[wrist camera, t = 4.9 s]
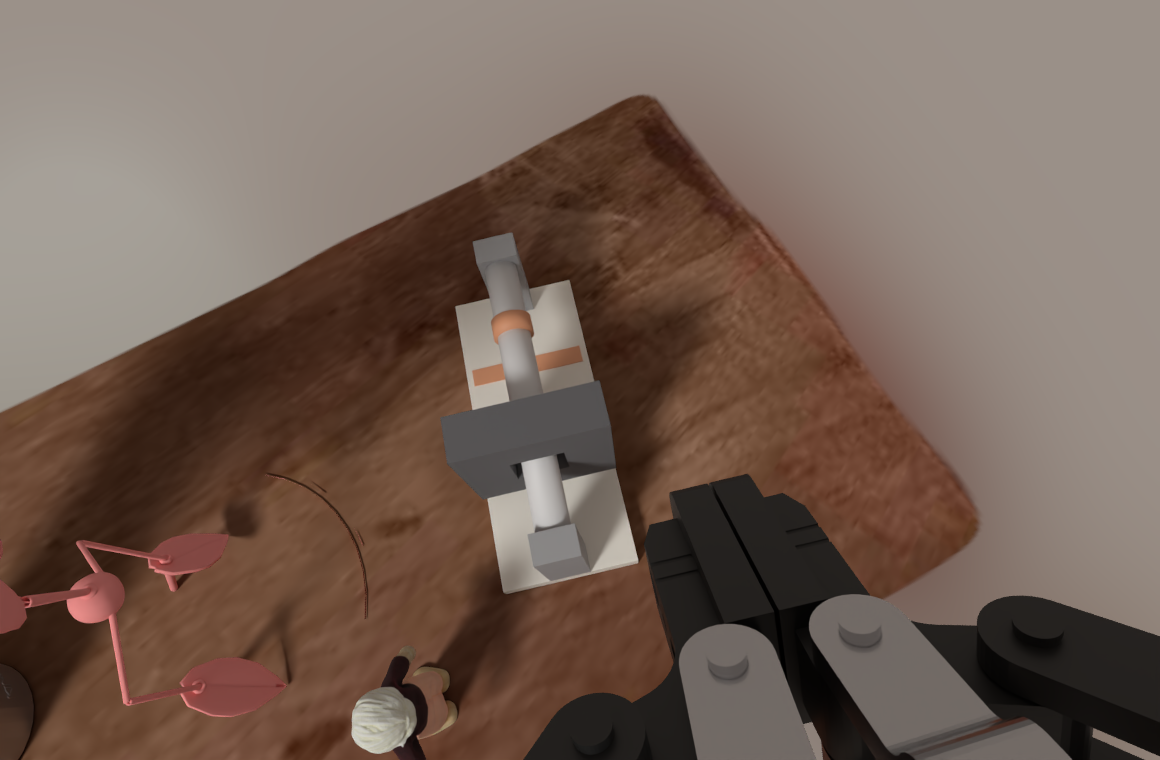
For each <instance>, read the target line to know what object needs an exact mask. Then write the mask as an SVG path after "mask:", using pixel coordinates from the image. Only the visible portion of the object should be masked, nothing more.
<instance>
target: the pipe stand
mask: <svg viewBox="0 0 1160 760" xmlns="http://www.w3.org/2000/svg"><path fill="white" fill-rule="evenodd" d="M473 246H474V251H475V257H476V262H477V266H478V268H479V270H480V273H481V275H482V278H483V280H484V282H485V285H486V287H487V290H488V292H489V297H490V298H489V299H485V300H481V301H476V302H472V303H468V304H464V305H459V306H455V308H456V314H457V320H458V326H459V332H460V338H461V343H462V349H463V355H464V361H465V367H466V373H467V379H468V385H469V391H470V397H471V403H472V409H473V410H475V409H479V408H483V407H487V406H492V405H496V404H500V403H505V402H509V401H513V400H517V399H522V398H526V397H530V396H534V395H539V394H543V393H547V392H551V391H556V390H560V389H564V388H568V387H573V386H577V385H581V384H585V383H590V382H594V378H593V374H592V370H591V366H590V362H589V358H588V354H587V350H586V346H585V342H584V338H583V334H582V329H581V325H580V321H579V317H578V313H577V309H576V305H575V301H574V297H573V293H572V289H571V285H570V281H569V280H566V281H562V282H558V283H553V284H549V285H545V286H541V287H536V288H532V289H529V286H528V283H527V280H526V276H525V273H524V270H523V266H522V263H521V260H520V257H519V253H518V250H517V247H516V243H515V240H514V237H513V233H507V234H503V235H499V236H494V237H490V238H486V239H482V240H477V241H473ZM521 464H522V469H523V475H524V480H525V485H526V489H525V490H521V491H517V492H512V493H508V494H504V495H500V496H495V497H491V498H488V504H489V510H490V516H491V522H492V528H493V534H494V540H495V546H496V552H497V558H498V564H499V570H500V576H501V582H502V588H503V592H504V593H506V594H510V593H514V592H518V591H522V590H527V589H531V588H535V587H539V586H543V585H548V584H552V583H556V582H560V581H565V580H569V579H573V578H577V577H582V576H586V575H590V574H594V573H598V572H603V571H607V570H611V569H615V568H620V567H624V566H628V565H632V564H637V563H638V557H637V553H636V549H635V545H634V541H633V537H632V533H631V529H630V525H629V521H628V517H627V513H626V509H625V504H624V500H623V496H622V492H621V488H620V484H619V480H618V476H617V472H616V468H614V469H610V470H606V471H602V472H597V473H593V474H589V475H585V476H580V477H576V478H572V479H568V480H563V481H562V478H561V474H560V469H559V464H558V460H557V455H551V456H547V457H543V458H539V459H534V460H530V461H526V462H522V463H521Z"/></svg>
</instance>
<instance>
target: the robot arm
mask: <svg viewBox="0 0 1160 760" xmlns="http://www.w3.org/2000/svg"><path fill="white" fill-rule="evenodd" d="M670 502H671V508H672V513H673V518H674V519H672V520H668V521H664V522H659V523H655V524H651V525H650V526H649V529H648V533H647V536H646V539H645V542H644V547H645V551H646V556H647V561H648V565H649V570H650V575H651V579H652V584H653V589H654V593H655V598H656V603H657V607H658V611H659V614H660V618H661V621H662V624H663V628H664V631H665V635H666V638H667V642H668V645H669V648H670V652H671V655H672V659H673V662H674V664H673V666H672V669H671V671H670V673H669V674H668V676H667V677H666V679H665V680H664V681H663V682H662V683H661V684H660V685H659V686H658V687H657V688H656V689H654V690H653V691H651V692H650V693H648V694H647V695H645V696H643V697H642V698H640V699H638V700H636V701H635V702H633V703H631V702H630V701H628V700H627V699H625V698H623V697H621V696H618V695H615V694H610V693H593V694H588V695H585V696H582V697H579V698H577V699H575V700H573V701H571V702H569V703H568V704H566V705H565V706H564V707H562V708H561V709H560V710H559V711H558V712H557V713H556V714H555V716H554V717H553V718H552V719H551V721H550V722H549V724H548V725H547V727H546V728H545V729H544V731H543V732H542V734H541V735H540V737H539V738H538V740H537V741H536V742H535V744H534V745H533V747H532V748H531V750H530V751H529V752H528V754H527V755H526V757H525V758H524V760H816V757H815V755H814V752H813V749H812V747H811V744H810V741H809V739H808V736H807V733H806V731H805V728H804V725H803V724H805V723H809V722H812V723H813V725H814V727H815V729H816V731H817V733H818V735H819V737H820V739H821V745H822V755H823V760H1144V759H1141V758H1139V757H1137V756H1135V755H1132V754H1130V753H1128V752H1125V751H1123V750H1121V749H1119V748H1116V747H1114V746H1112V745H1109V744H1107V743H1105V742H1102V741H1100V740H1098V739H1095V738H1093V737H1092V735H1093V728H1095V729H1097V730H1100V731H1102V732H1104V733H1107V734H1109V735H1111V736H1114V737H1116V738H1118V739H1121V740H1123V741H1126V742H1128V743H1130V744H1132V745H1135V746H1137V747H1140V748H1142V749H1144V750H1146V751H1149V752H1151V753H1154V754H1156V755H1158V756H1160V636H1157V635H1154V634H1151V633H1148V632H1145V631H1142V630H1139V629H1136V628H1133V627H1130V626H1127V625H1124V624H1121V623H1118V622H1115V621H1112V620H1109V619H1106V618H1103V617H1099V616H1096V615H1094V614H1091V613H1088V612H1084V611H1081V610H1078V609H1075V608H1072V607H1069V606H1066V605H1063V604H1060V603H1057V602H1054V601H1051V600H1047V599H1043V598H1038V597H1032V596H1009V597H1003V598H1000V599H996V600H994V601H992V602H990V603H988V604H987V605H986V606H984V608H983V609H982V610H981V611H980V613H979V615H978V619H977V626H963V625H962V626H961V625H932V624H923V623H917V622H913V621H910V620H909V619H908V618H907V616H906V615H905V614H904V613H903V612H902V611H900V610H899V609H898V608H897V607H895V606H894V605H892V604H890V603H889V602H887V601H884V600H882V599H879V598H876V597H872V596H870V595H869V593H868V592H867V590H866V589H865V588H864V586H863V585H862V584H861V582H860V581H859V580H858V578H857V577H856V575H855V574H854V573H853V571H852V570H851V569H850V567H849V566H848V564H847V563H846V562H845V560H844V559H843V558H842V556H841V555H840V553H839V552H838V551H837V549H836V548H835V547H834V545H833V544H832V542H829V539H828V537H827V536H826V534H825V533H824V531H823V530H822V529H821V527H819V526H818V523H817V522H816V520H815V519H814V518H813V516H812V515H811V514H810V512H809V511H808V510H807V508H806V507H805V506H804V505H802V504H801V503H799V502H797V501H796V500H794V499H792V498H790V497H789V496H787V495H785V494H783V493H781V494H777V495H773V496H769V497H763V496H762V494H761V493H760V491H759V489H758V488H757V486H756V485H755V483H754V482H753V480H752V478H751V477H750V476H749V475H748V474H745V475H740V476H736V477H732V478H728V479H723V480H719V481H715V482H711V483H709V485H708V484H703V485H699V486H694V487H690V488H686V489H682V490H677V491H673V492H670ZM33 712H34V705H33V699H32V693H31V691H30V688H29V686H28V683H27V682H26V680H25V679H24V678H23V676H22V675H21V674H20V673H19V672H17V671H16V670H15V669H13V668H12V667H10V666H7V665H4V664H1V663H0V760H18V759H19V757H20V756H21V754H22V752H23V751H24V748H25V746H26V743H27V741H28V738H29V736H30V732H31V728H32V723H33Z"/></svg>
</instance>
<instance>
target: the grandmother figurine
mask: <svg viewBox="0 0 1160 760" xmlns="http://www.w3.org/2000/svg"><path fill="white" fill-rule="evenodd" d="M415 655H416V651H415V649H414V648H413V647H412V646H405V647H403V648H402V649H401V651H400V653H399V654H398V655H397V656H396V657H394V659H393V660H392V662H391V664H390V666H389V669H388V672H387V675H386V677H385V678H384V680H383V682H382V685H381V688H378V689H376V690H372V691H370V692H368V693H366V695H364V696H362V697H361V698H360V699H359V701H358V702H357V703H356V706H355V709H354V710H353V714H352V737H353V739H354V741H355V742H356V744H358V745H359V746H360V747H362V748H363V749H366V750H367V751H369V752H372V753H378V754H380V753H384V752H388V751H390V750H392V749H393V751H394V752H395V753H396V755H397V756H398V758H399V759H400V760H426V758H425V755H424V753H423V750H422V748H421V746H420V744H419V741H418V739H422V738H425V737H429V736H431V735H434V734H437V733H439V732H440V731H442V730H444V729H445V728H447V727H449V726H450V725H452V724H453V723H454V722H455V721H456V719H457V709H456V706H455V704H454V703H453V702H452V701H448V700H447V701H445V699H444V696H443V694H442V693H443V692H445V691H446V690H447V689H448V687H449V683H450V677H449V674H448V672H447V671H446V670H444V669H439V668H433V667H420V668H419V669H417V670H416V671H415V673H414V674H413V677H410V678H408V679H406V680H405V681H404V682H403V683H402V681H403V679H404V677H405V675H406V673H407V672H408V669H409V666H410V664H411V662H412V660H413V659H414V658H415Z"/></svg>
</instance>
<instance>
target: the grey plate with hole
mask: <svg viewBox="0 0 1160 760" xmlns="http://www.w3.org/2000/svg"><path fill="white" fill-rule="evenodd" d="M441 425H442V431H443V438H444V445H445V452H446V459H447V464H448V465H449V466H450V467H451V468H452V469H453V470H454V471H455V472H456V473H457V474H458V475H459V476H460V477H461V478H462V479H463V480H464V481H465V482H466V483H467V484H468V485H469V486H470V487H471V488H472V489H473V490H474V491H475V492H476V493H477V494H478V495H479V496H480V497H481V498H482V499H487V498H491V497H495V496H500V495H504V494H508V493H512V492H517V491H521V490H525V489H526V485H525V480H524V475H523V469H522V464H521V463H522V462H526V461H530V460H534V459H539V458H543V457H547V456H551V455H557V460H558V464H559V469H560V474H561V478H562V481H563V480H568V479H572V478H576V477H580V476H585V475H589V474H593V473H597V472H602V471H606V470H610V469H614V468H616V462H615V454H614V447H613V439H612V432H611V425H610V421H609V417H608V413H607V409H606V405H605V401H604V397H603V393H602V389H601V385H600V381H599V380H598V381H594V382H590V383H585V384H581V385H577V386H573V387H568V388H564V389H560V390H556V391H551V392H547V393H543V394H539V395H534V396H530V397H526V398H522V399H517V400H513V401H509V402H505V403H500V404H496V405H492V406H487V407H483V408H479V409H475V410H470V411H466V412H462V413H458V414H453V415H449V416H445V417H441Z"/></svg>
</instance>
